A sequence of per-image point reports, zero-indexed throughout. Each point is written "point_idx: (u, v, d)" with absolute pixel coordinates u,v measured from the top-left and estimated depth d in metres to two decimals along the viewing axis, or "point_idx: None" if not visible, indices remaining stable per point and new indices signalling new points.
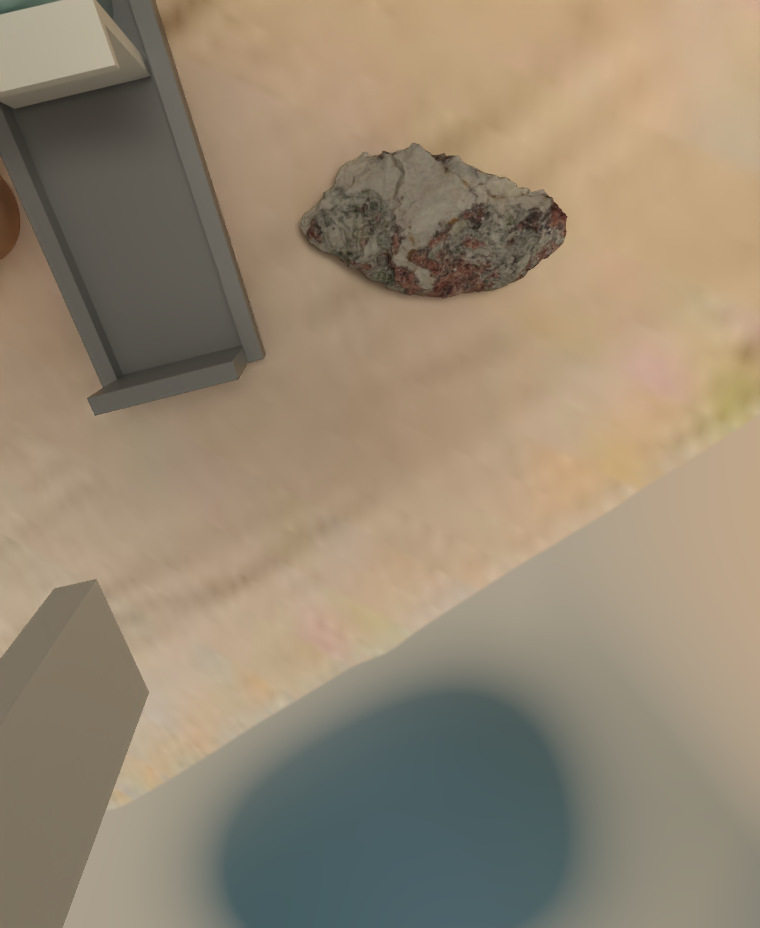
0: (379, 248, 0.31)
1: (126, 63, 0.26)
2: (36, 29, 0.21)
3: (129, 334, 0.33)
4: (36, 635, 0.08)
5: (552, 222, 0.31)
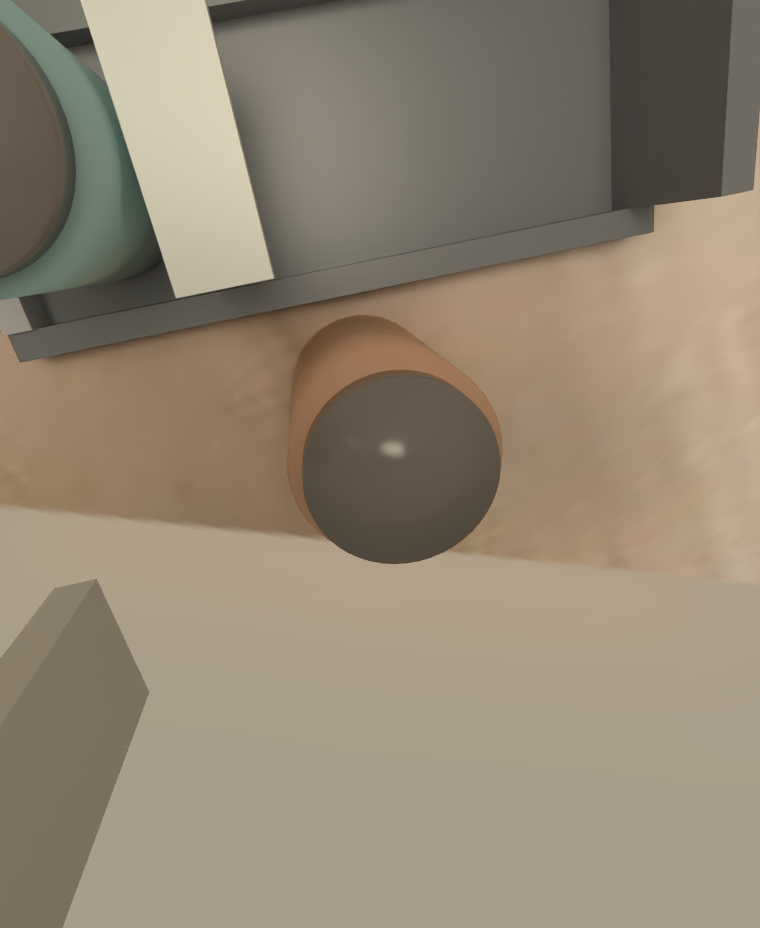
0: None
1: None
2: (132, 49, 0.11)
3: (555, 183, 0.21)
4: (35, 635, 0.08)
5: None
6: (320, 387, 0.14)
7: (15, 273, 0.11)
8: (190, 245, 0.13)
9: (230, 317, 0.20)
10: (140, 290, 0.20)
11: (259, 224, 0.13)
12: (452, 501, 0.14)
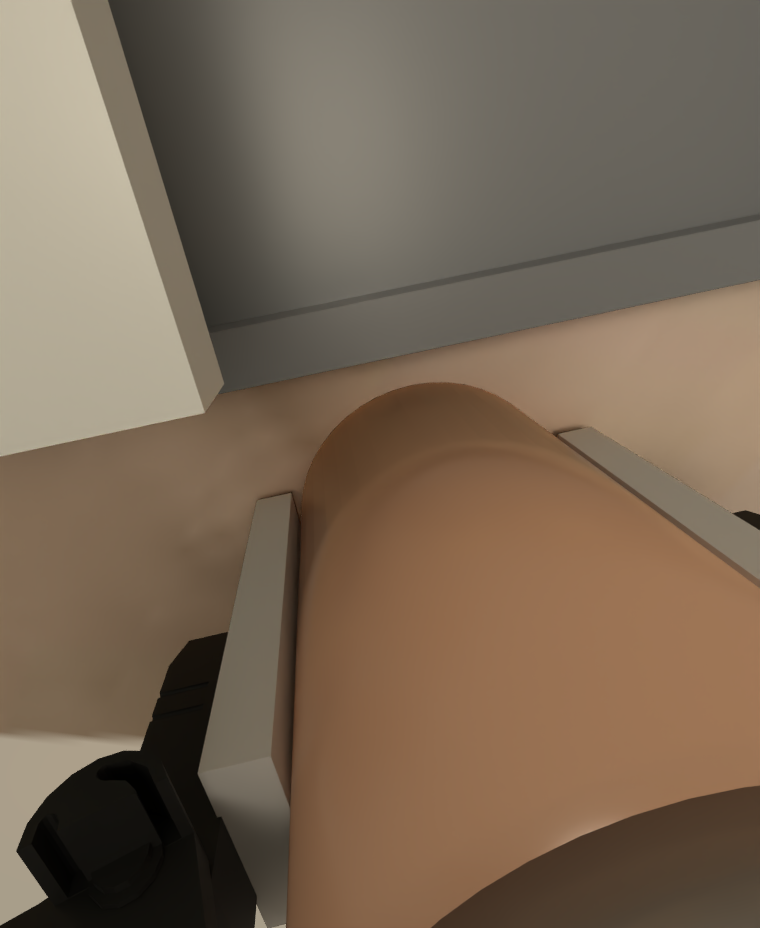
0: None
1: None
2: None
3: None
4: (267, 527, 0.10)
5: None
6: (426, 869, 0.03)
7: None
8: None
9: None
10: None
11: (100, 104, 0.02)
12: None
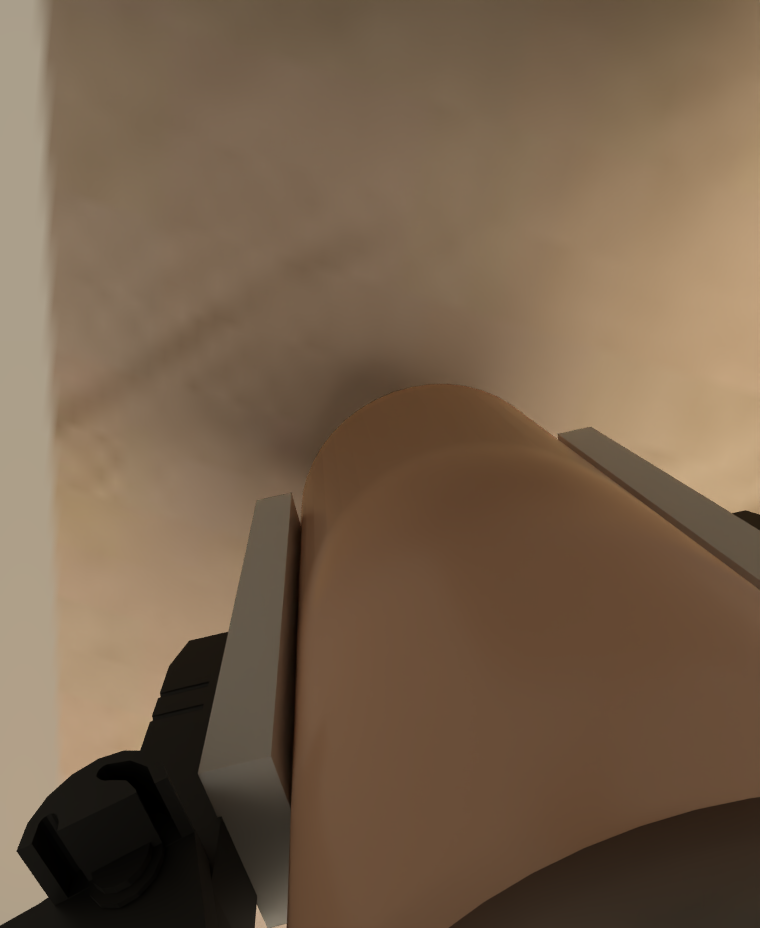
0: None
1: None
2: None
3: None
4: (267, 527, 0.10)
5: None
6: (429, 882, 0.03)
7: None
8: None
9: None
10: None
11: None
12: None
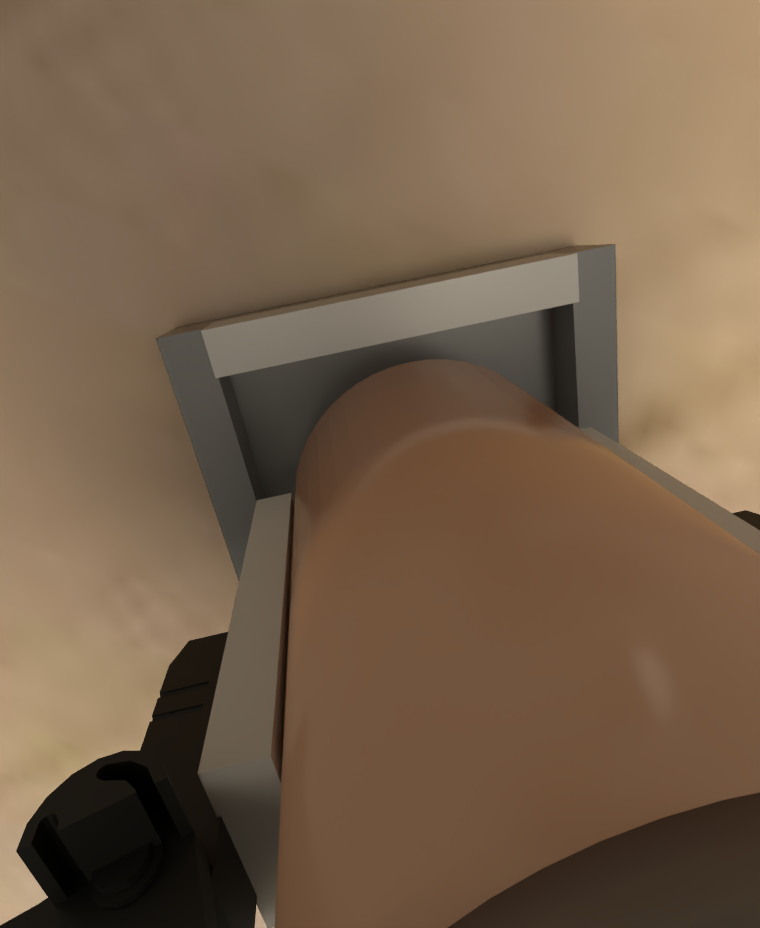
0: None
1: None
2: None
3: None
4: (267, 527, 0.10)
5: None
6: (429, 878, 0.03)
7: None
8: None
9: None
10: (285, 492, 0.14)
11: None
12: None
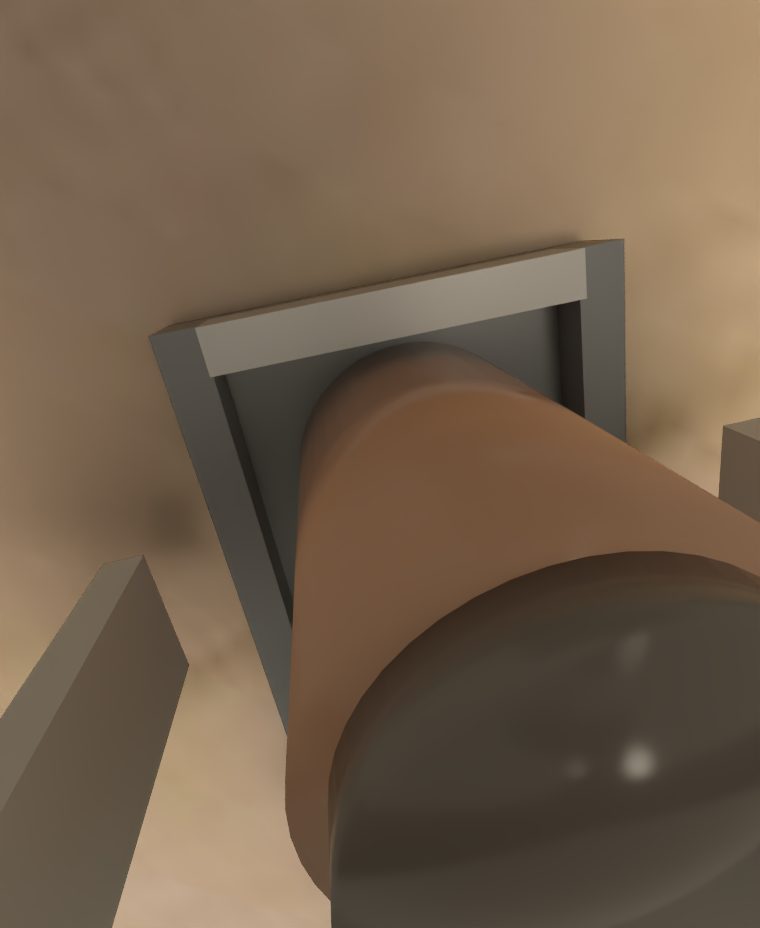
0: None
1: None
2: None
3: None
4: (93, 604, 0.09)
5: None
6: (401, 597, 0.04)
7: None
8: None
9: (254, 634, 0.14)
10: (283, 494, 0.14)
11: None
12: (756, 921, 0.05)
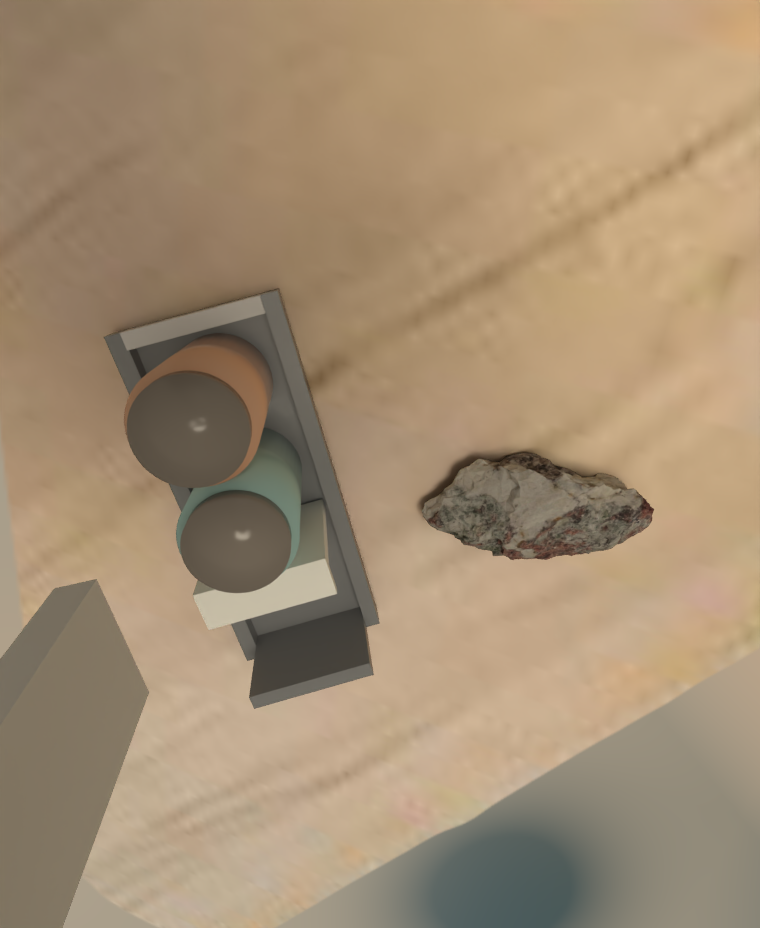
0: (492, 537, 0.36)
1: None
2: (284, 581, 0.29)
3: None
4: (36, 635, 0.08)
5: (641, 516, 0.36)
6: (139, 381, 0.23)
7: None
8: (216, 600, 0.29)
9: None
10: None
11: (230, 623, 0.30)
12: (222, 448, 0.24)
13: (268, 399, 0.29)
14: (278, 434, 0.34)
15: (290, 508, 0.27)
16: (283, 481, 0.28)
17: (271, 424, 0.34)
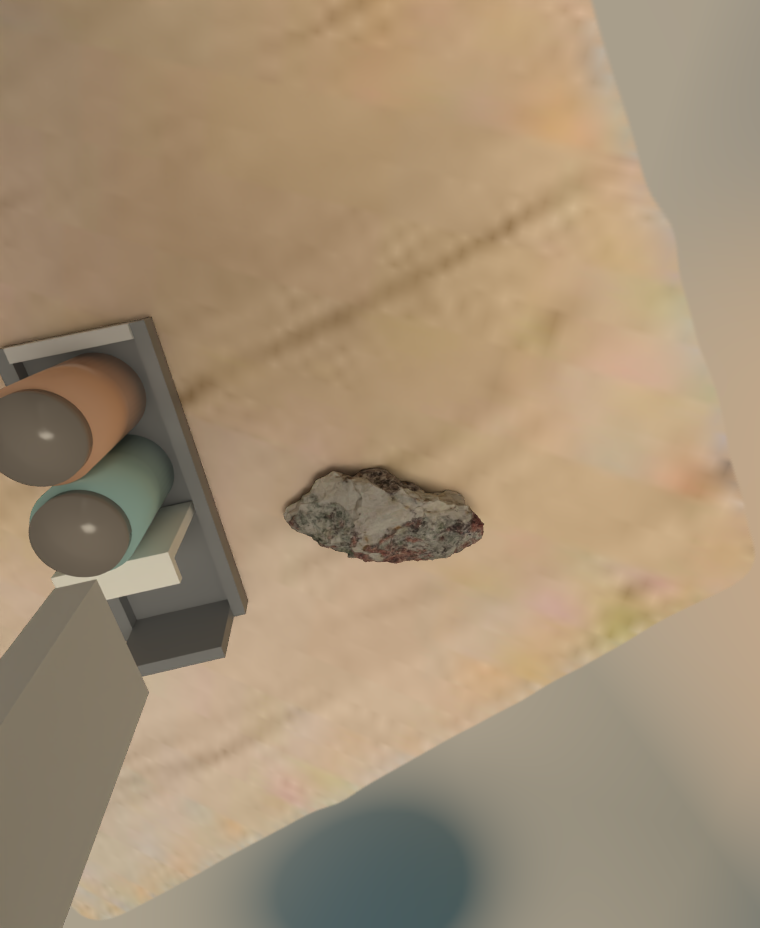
0: (342, 540, 0.41)
1: None
2: (132, 570, 0.34)
3: (143, 594, 0.44)
4: (36, 634, 0.08)
5: (472, 529, 0.41)
6: None
7: None
8: (72, 583, 0.34)
9: None
10: None
11: None
12: (62, 455, 0.29)
13: (128, 413, 0.34)
14: (151, 442, 0.39)
15: (129, 507, 0.31)
16: (133, 484, 0.33)
17: (145, 433, 0.39)
